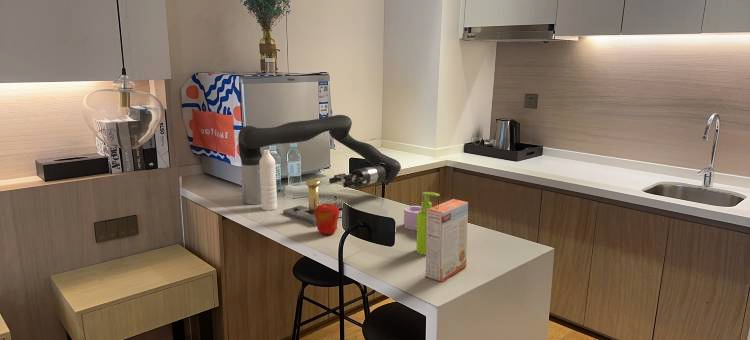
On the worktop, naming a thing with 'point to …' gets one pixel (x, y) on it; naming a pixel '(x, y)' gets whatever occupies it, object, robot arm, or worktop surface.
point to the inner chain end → (293, 213)
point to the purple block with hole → (411, 217)
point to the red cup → (327, 218)
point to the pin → (313, 194)
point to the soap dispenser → (423, 222)
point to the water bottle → (268, 181)
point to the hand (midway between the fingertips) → (336, 183)
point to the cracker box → (446, 239)
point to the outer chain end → (307, 215)
